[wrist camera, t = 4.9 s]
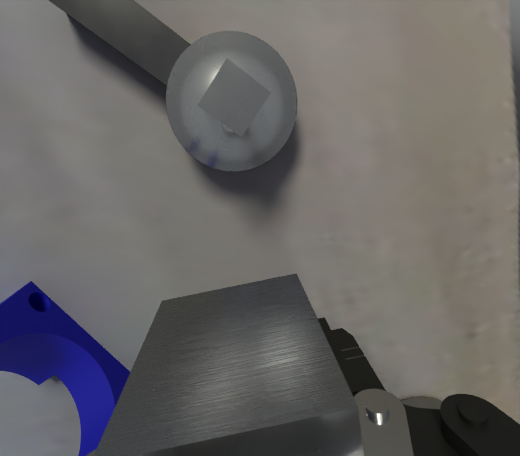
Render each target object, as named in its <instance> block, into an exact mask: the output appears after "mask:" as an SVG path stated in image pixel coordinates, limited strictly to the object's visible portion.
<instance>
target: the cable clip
mask: <svg viewBox="0 0 520 456" xmlns="http://www.w3.org/2000/svg"><path fill="white" fill-rule="evenodd" d="M0 371H8V372H12V373H16V374H19V375H22V376H24V377H26V378H28V379H30V380H32V381H33V382H35V383H36V384H38V385H40V384H41V383H43V382H44V381H46V380H47V379H48V378H50V377H51V376H53V375H54V374H55V375H56V376H57V377H58V378H59V379H60V380H61V381H62V382H63V383H64V384H65V386H66V387H67V388H68V390H69V391H70V393H71V395H72V397H73V399H74V401H75V403H76V406H77V409H78V413H79V417H80V424H81V444H80V451H79V456H86V455H87V454H89V453H90V452H92V451H94V450H96V449H97V447H98V445H99V442H100V440H101V438H102V436H103V433H104V431H105V429H106V426H107V424H108V422H109V420H110V417H111V415H112V413H113V411H114V408H115V406H116V404H117V402H118V399H119V397H120V395H121V393H122V390H123V388H124V386H125V384H126V381H127V379H128V377H129V374H130V371H128V370H127V369H126V368H125V367H124V366H123V365H122V364H121V363H120V362H119V361H118V360H116V359H115V358H114V357H113V356H112V355H111V354H110V353H109V352H108V351H107V350H106V349H105V348H103V347H102V346H101V345H100V344H99V343H98V342H97V341H96V340H95V339H94V338H93V337H91V336H90V335H89V334H88V333H87V332H86V331H85V330H84V329H83V328H82V327H81V326H79V325H78V324H77V323H76V322H75V321H74V320H73V319H72V318H71V317H70V316H69V315H68V314H66V313H65V312H64V311H63V310H62V309H61V308H60V307H59V306H58V305H57V304H56V303H54V302H53V301H52V300H51V299H50V298H49V297H48V296H47V295H46V294H45V293H44V292H42V291H41V290H40V289H39V288H38V287H37V286H36V285H35V284H34V283H33V282H32V281H31V282H29V283H28V284H26V285H25V286H24V287H22V288H21V289H20V290H18V291H17V292H16V293H14V294H13V295H11V296H10V297H9V298H7V299H6V300H5V301H3V302H2V303H0Z"/></svg>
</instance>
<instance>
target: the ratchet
mask: <svg viewBox="0 0 520 456" xmlns="http://www.w3.org/2000/svg"><path fill="white" fill-rule="evenodd" d="M49 1H50V2H52V3H53V4H55V5H56V6H57V7H59V8H60V9H61V10H63V11H64V12H66V13H67V14H68V15H70V16H71V17H72V18H74V19H75V20H77V21H78V22H79V23H81V24H82V25H84V26H85V27H86V28H88V29H89V30H90V31H92V32H93V33H95V34H96V35H97V36H99V37H100V38H101V39H103V40H104V41H106V42H107V43H108V44H110V45H111V46H113V47H114V48H115V49H117V50H118V51H119V52H121V53H122V54H124V55H125V56H126V57H128V58H129V59H130V60H132V61H133V62H135V63H136V64H137V65H139V66H140V67H142V68H143V69H144V70H146V71H147V72H148V73H150V74H151V75H153V76H154V77H155V78H157V79H158V80H159V81H161V82H162V83H164V84H165V85H166V86H167V89H166V109H167V114H168V118H169V122H170V125H171V127H172V130H173V132H174V134H175V136H176V137H177V139H178V141H179V142H180V143H181V145H182V146H183V147H184V149H185V150H186V151H187V152H188V153H189V154H190V155H192V156H193V157H194V158H195V159H197V160H198V161H200V162H202V163H203V164H205V165H207V166H210V167H212V168H215V169H219V170H223V171H245V170H249V169H253V168H255V167H258V166H260V165H262V164H264V163H266V162H267V161H269V160H270V159H271V158H273V157H274V156H275V155H276V154H277V153H278V152H279V151H280V150H281V149H282V147H283V146H284V145H285V143H286V142H287V140H288V138H289V137H290V134H291V132H292V130H293V127H294V124H295V120H296V115H297V92H296V87H295V83H294V80H293V77H292V74H291V72H290V70H289V68H288V66H287V65H286V63H285V61H284V60H283V59H282V57H281V56H280V55H279V54H278V52H277V51H275V50H274V49H273V48H272V47H271V46H270V45H269V44H267V43H266V42H264V41H263V40H261V39H259V38H257V37H255V36H253V35H250V34H247V33H243V32H238V31H221V32H216V33H212V34H209V35H207V36H204V37H202V38H200V39H198V40H197V41H195V42H194V43H192V44H189V43H188V42H187V41H185V40H184V39H183V38H182V37H180V36H179V35H178V34H176V33H175V32H174V31H173V30H171V29H170V28H169V27H167V26H166V25H165V24H164V23H162V22H161V21H160V20H158V19H157V18H156V17H155V16H153V15H152V14H151V13H149V12H148V11H147V10H146V9H144V8H143V7H142V6H140V5H139V4H138V3H137V2H135V1H134V0H49Z"/></svg>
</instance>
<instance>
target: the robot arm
mask: <svg viewBox="0 0 520 456" xmlns="http://www.w3.org/2000/svg"><path fill="white" fill-rule="evenodd" d="M318 321H319V323H320V326H321V328H322V330H323V332H324V334H325V336H326V339H327V341H328V343H329V345H330V347H331V349H332V352H333V354H334V356H335V358H336V360H337V362H338V365H339V367H340V369H341V371H342V373H343V375H344V378H345V380H346V382H347V384H348V386H349V389H350V391H351V393H352V395H353V397H354V399H355V402H356V404H357V406H358V410H359V418H360V427H361V435H362V444H363V453H364V456H520V424H518V423H517V422H516V421H514V420H513V419H512V418H510V417H509V416H508V415H506V414H505V413H504V412H502V411H501V410H500V409H498V408H497V407H496V406H494V405H493V404H491V403H490V402H488V401H486V400H484V399H482V398H479V397H476V396H473V395H468V394H455V395H451V396H448V397H447V398H445V399H444V400H443V402H442V401H441V400H437V399H434V398H428V397H417V398H410V399H406V400H402V401H400V400H399V399H398V398H397V397H396V396H394V395H393V394H391V393H389V392H387V391H386V390H385V389H384V387H383V385H382V384H381V382H380V380H379V379H378V377H377V375H376V374H375V372H374V370H373V369H372V367H371V365H370V364H369V362H368V360H367V359H366V357H365V356H364V354H363V352H362V350H361V349H360V348H359V345H358V344H357V342H356V340H355V339H354V337H353V336H352V335H351V334H350V333H348V332H347V331H345V330H344V329H342V328H340V329H336V330H331V329H330V327H329V325H328V323H327V321H326V319H325V318H319V319H318ZM95 451H96V450H94V451H92V452H90V453H89V454H87V455H86V456H94V454H95Z"/></svg>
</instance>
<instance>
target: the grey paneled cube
mask: <svg viewBox="0 0 520 456" xmlns="http://www.w3.org/2000/svg"><path fill="white" fill-rule="evenodd" d="M94 456H364V453H363V444H362V435H361V427H360V418H359V410H358V406H357V404H356V402H355V399H354V397H353V395H352V393H351V391H350V389H349V386H348V384H347V382H346V380H345V378H344V375H343V373H342V371H341V369H340V367H339V365H338V362H337V360H336V358H335V356H334V354H333V352H332V349H331V347H330V345H329V343H328V341H327V339H326V336H325V334H324V332H323V330H322V328H321V326H320V323H319V321H318V319H317V317H316V315H315V313H314V310H313V308H312V306H311V304H310V302H309V300H308V297H307V295H306V293H305V291H304V289H303V287H302V284H301V282H300V280H299V278H298V276H297V274H292V275H287V276H282V277H277V278H272V279H267V280H262V281H257V282H252V283H247V284H243V285H238V286H233V287H228V288H223V289H218V290H213V291H208V292H203V293H198V294H193V295H188V296H183V297H179V298H174V299H169V300H164V301H162V302H161V304H160V307H159V309H158V311H157V313H156V316H155V318H154V320H153V322H152V325H151V327H150V329H149V331H148V334H147V336H146V338H145V341H144V343H143V345H142V347H141V350H140V352H139V354H138V356H137V359H136V361H135V363H134V365H133V368H132V370H131V372H130V374H129V377H128V379H127V381H126V384H125V386H124V388H123V390H122V393H121V395H120V397H119V399H118V402H117V404H116V406H115V408H114V411H113V413H112V415H111V417H110V420H109V422H108V424H107V426H106V429H105V431H104V433H103V436H102V438H101V440H100V442H99V445H98V447H97V449H96V451H95V454H94Z"/></svg>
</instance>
